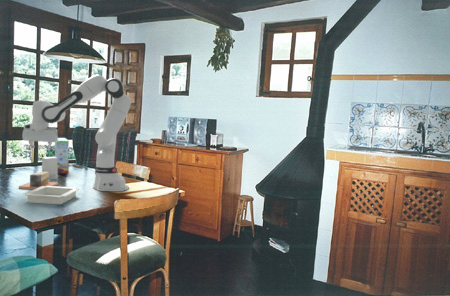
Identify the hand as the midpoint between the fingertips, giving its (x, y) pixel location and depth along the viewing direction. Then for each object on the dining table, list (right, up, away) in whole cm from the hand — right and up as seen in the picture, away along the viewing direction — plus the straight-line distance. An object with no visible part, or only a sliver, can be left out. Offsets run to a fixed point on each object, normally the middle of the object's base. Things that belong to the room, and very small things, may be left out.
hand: (40, 148), depth 198 cm
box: (-2, -23, +3) cm, 23 cm away
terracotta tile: (-2, -24, +3) cm, 24 cm away
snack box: (-16, -18, +55) cm, 60 cm away
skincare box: (-8, -22, +25) cm, 34 cm away
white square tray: (+19, -28, -21) cm, 40 cm away
